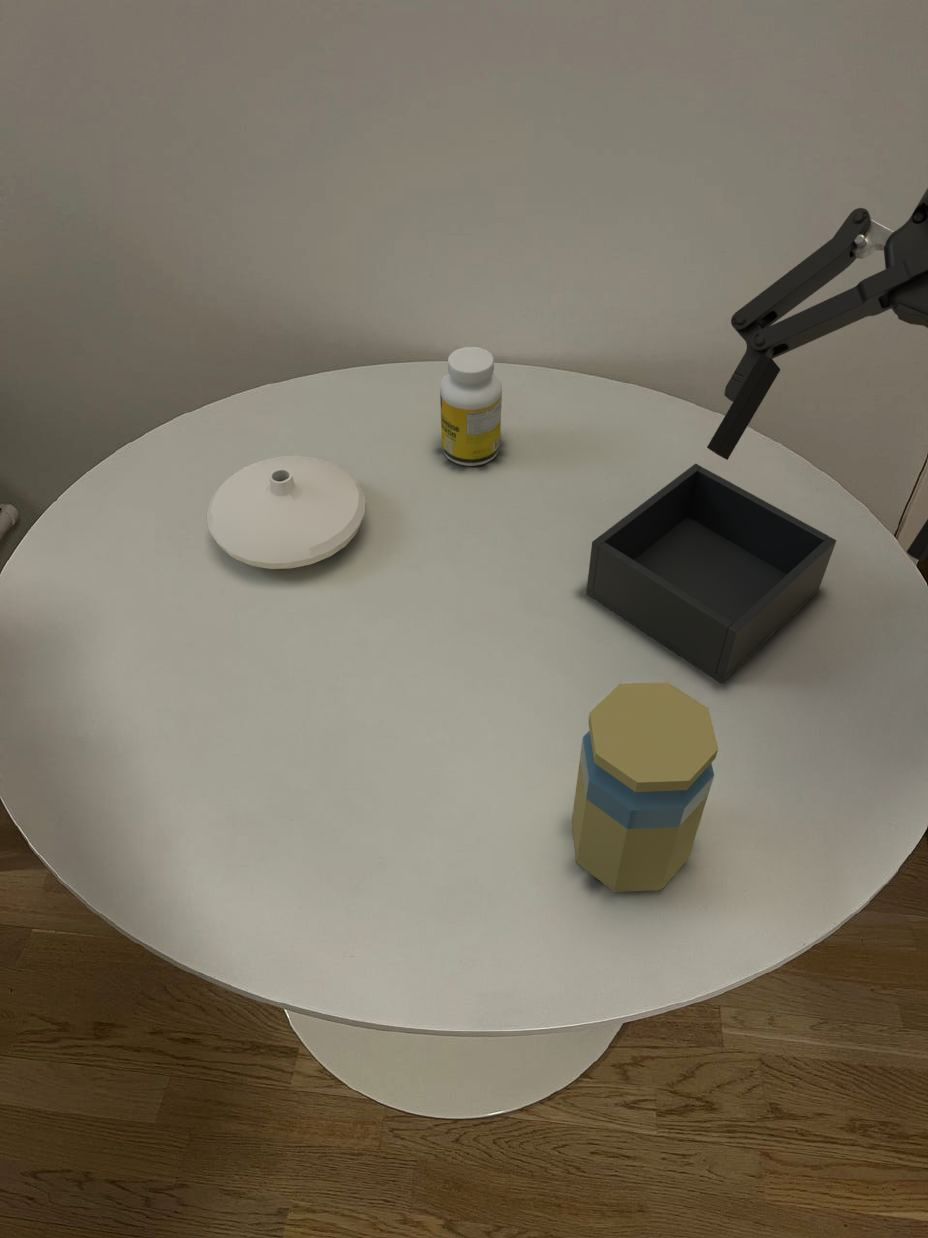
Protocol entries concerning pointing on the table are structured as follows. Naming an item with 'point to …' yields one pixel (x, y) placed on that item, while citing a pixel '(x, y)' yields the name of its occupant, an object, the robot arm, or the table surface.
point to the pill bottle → (470, 407)
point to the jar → (642, 785)
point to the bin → (708, 569)
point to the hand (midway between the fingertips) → (810, 503)
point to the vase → (286, 512)
